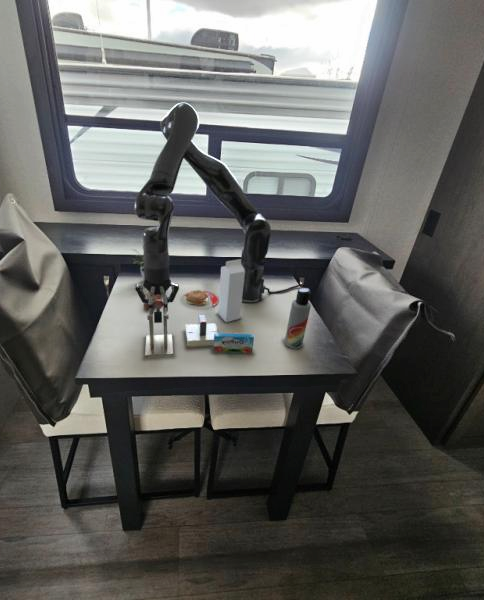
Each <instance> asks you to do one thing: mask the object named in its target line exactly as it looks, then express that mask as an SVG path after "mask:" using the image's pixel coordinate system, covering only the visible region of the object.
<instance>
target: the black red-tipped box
mask: <svg viewBox="0 0 484 600" xmlns="http://www.w3.org/2000/svg"><path fill="white" fill-rule="evenodd" d="M197 324H198V329H199V334H200V336H206V326H207V324H208V323H207V318H206V315H205V314H199V315H198V322H197Z"/></svg>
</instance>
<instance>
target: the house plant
mask: <svg viewBox="0 0 484 600" xmlns="http://www.w3.org/2000/svg"><path fill="white" fill-rule="evenodd" d="M141 246H142V249H143V251H144V246H143V242H142V243H141ZM131 250H133V251H134V252H136V253H138V254H139V255H137V257H138V258H139V259H141V261H140V260H137V259H135V258H133V260H134V262H133V265H134V264H137V263H138V266H139V270H140V275H141V278H142V282H143V281H144V264H143V255H141V254H140V253H139V252H138V251H137V250H136V249H133V248H131Z"/></svg>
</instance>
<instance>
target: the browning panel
mask: <svg viewBox="0 0 484 600" xmlns="http://www.w3.org/2000/svg"><path fill="white" fill-rule="evenodd" d="M184 331H185V338H186V346H187V347H201V346H202V347H204V346H213V343H214V334H215V333H218V332H219V331H218V327H217V324H216V323H215V322H213V323H212V322H211V323H207V326H206V336H200V334H199V329H198V323H193V324H191V323H190V324H185V326H184Z"/></svg>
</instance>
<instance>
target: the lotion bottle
mask: <svg viewBox="0 0 484 600" xmlns="http://www.w3.org/2000/svg"><path fill="white" fill-rule="evenodd" d="M311 293H312V292H311V289H310V288H308V287H300V288H298V289H297V292H296V298H295V299H294V300H293V301H292V302H291V305H290V306H291V307H290V312H289V317H288V321H287V327H286V332H285V335H284V336H285V337H284V344H285V345H286V346H287V347H288V348H290V349H300V348H301V347H302V346H303V343H304V338H305V334H306V330H307V326H308V321H309V317H310V312H311V307H312V305H311V303H310V297H311Z"/></svg>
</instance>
